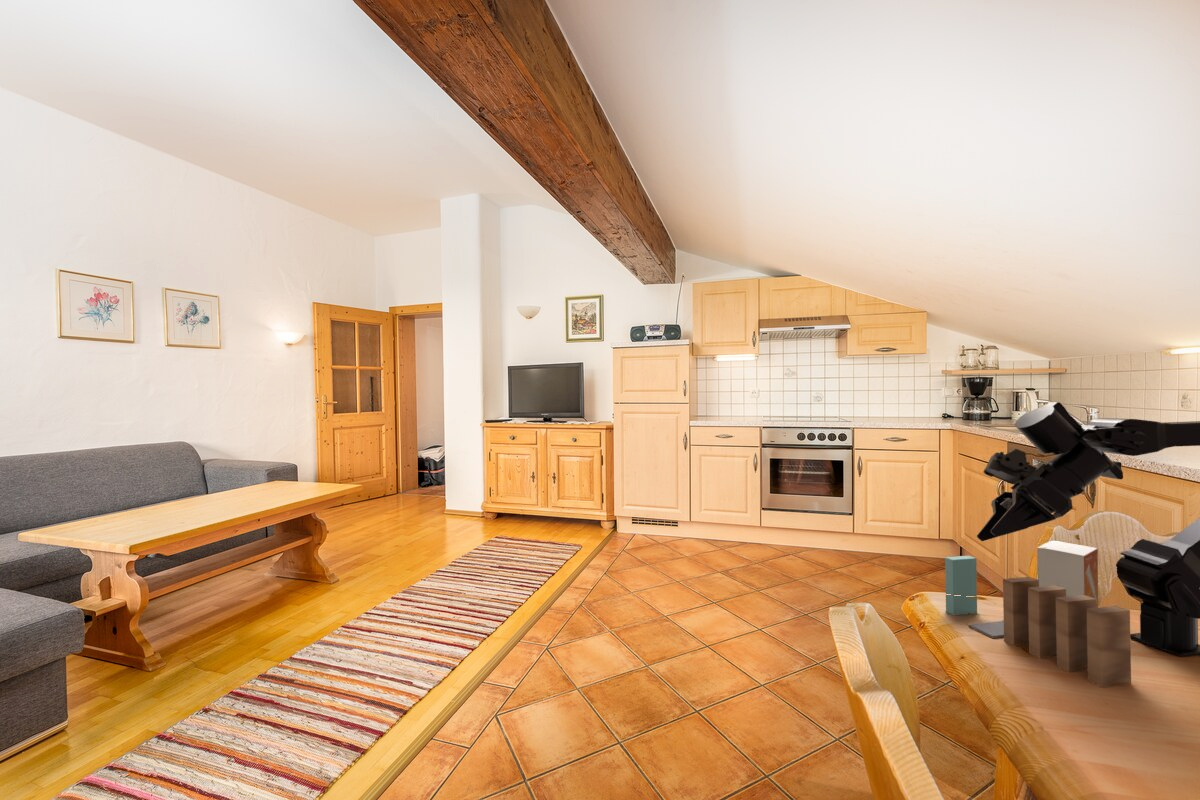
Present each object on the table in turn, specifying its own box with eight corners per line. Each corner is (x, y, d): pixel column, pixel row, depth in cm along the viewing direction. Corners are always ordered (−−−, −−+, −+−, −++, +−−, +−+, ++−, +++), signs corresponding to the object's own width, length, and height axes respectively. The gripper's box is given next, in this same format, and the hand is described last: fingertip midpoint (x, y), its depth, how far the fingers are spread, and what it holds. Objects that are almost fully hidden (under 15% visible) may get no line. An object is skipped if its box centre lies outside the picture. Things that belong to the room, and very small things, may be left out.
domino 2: (1029, 638, 82) (1028, 576, 82) (1040, 642, 80) (1038, 580, 80) (1003, 640, 81) (1002, 578, 81) (1013, 645, 79) (1012, 582, 79)
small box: (1085, 634, 83) (1084, 555, 83) (1036, 621, 88) (1035, 546, 88) (1100, 622, 87) (1098, 547, 87) (1052, 610, 93) (1051, 539, 93)
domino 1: (969, 609, 93) (968, 555, 93) (977, 613, 92) (976, 558, 92) (946, 611, 92) (945, 557, 92) (953, 615, 91) (952, 559, 91)
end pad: (1003, 623, 87) (1003, 620, 87) (1028, 634, 83) (1028, 632, 83) (968, 626, 86) (968, 624, 86) (992, 638, 82) (992, 635, 82)
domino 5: (1117, 677, 70) (1115, 605, 70) (1131, 683, 68) (1129, 610, 69) (1087, 681, 69) (1086, 608, 69) (1101, 687, 68) (1100, 613, 68)
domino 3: (1056, 649, 78) (1054, 585, 78) (1067, 654, 76) (1066, 589, 76) (1029, 653, 77) (1027, 587, 77) (1039, 658, 75) (1038, 591, 76)
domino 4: (1085, 662, 74) (1083, 594, 74) (1097, 668, 72) (1096, 599, 72) (1056, 666, 73) (1055, 597, 73) (1068, 672, 72) (1067, 601, 72)
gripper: (1002, 452, 93) (934, 506, 95) (1036, 424, 77) (953, 489, 79) (1062, 498, 87) (988, 555, 89) (1112, 479, 72) (1021, 548, 73)
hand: (985, 536), depth 83 cm, fingers open, 9 cm apart
